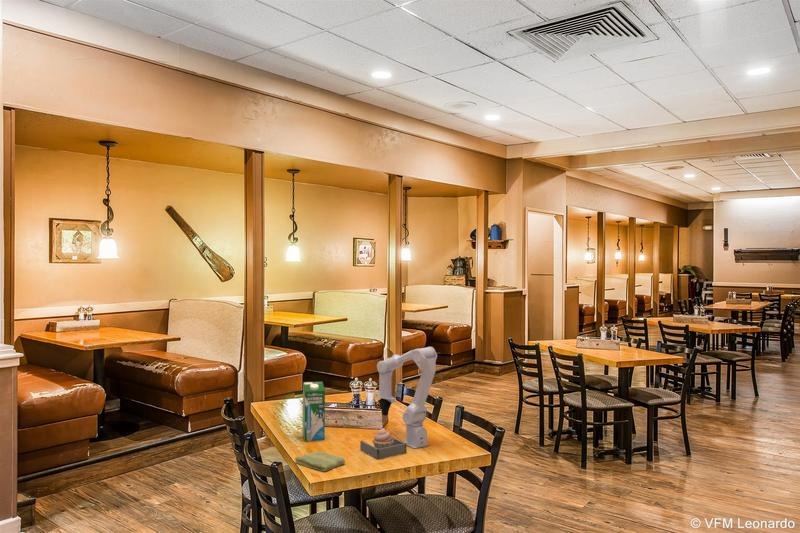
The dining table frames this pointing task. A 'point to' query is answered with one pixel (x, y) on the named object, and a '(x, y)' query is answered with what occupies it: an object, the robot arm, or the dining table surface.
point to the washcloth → (320, 461)
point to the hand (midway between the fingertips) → (385, 415)
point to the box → (384, 449)
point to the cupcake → (382, 439)
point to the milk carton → (313, 411)
